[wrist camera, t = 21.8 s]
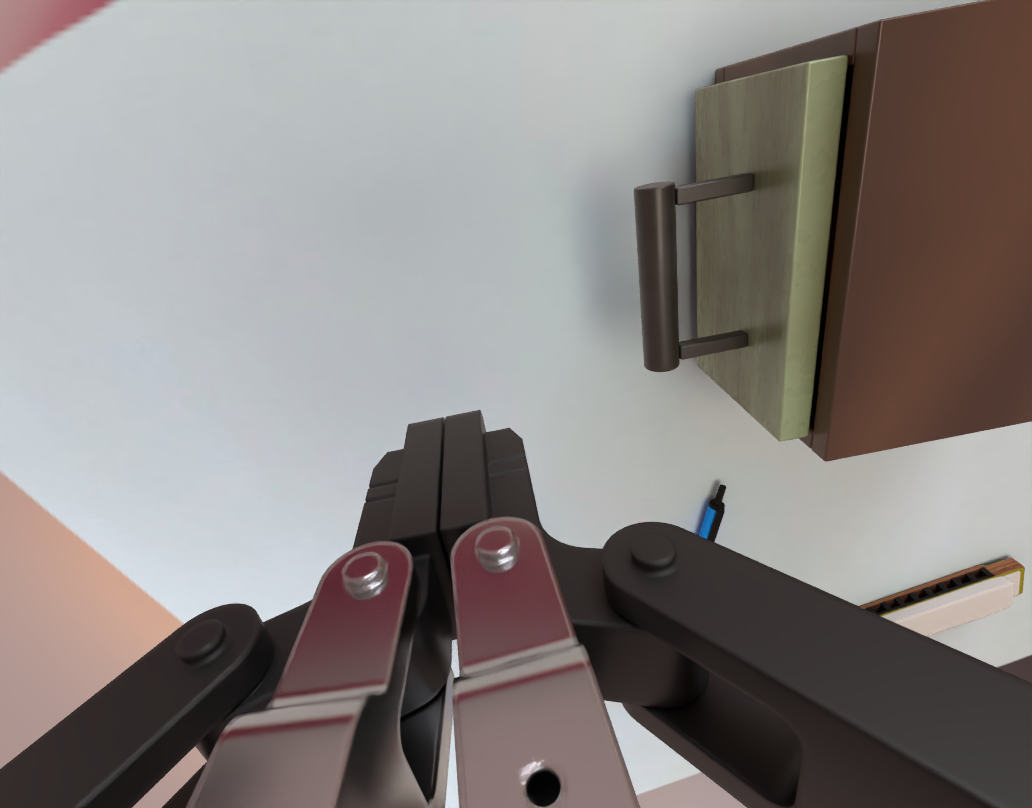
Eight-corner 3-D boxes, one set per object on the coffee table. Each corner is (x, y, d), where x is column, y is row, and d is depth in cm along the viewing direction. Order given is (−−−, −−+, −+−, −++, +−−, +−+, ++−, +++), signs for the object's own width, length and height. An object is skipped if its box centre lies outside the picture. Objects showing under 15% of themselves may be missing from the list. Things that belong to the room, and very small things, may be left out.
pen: (726, 482, 32) (735, 493, 31) (658, 687, 40) (663, 701, 39) (712, 481, 32) (721, 492, 31) (647, 687, 40) (652, 701, 39)
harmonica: (816, 647, 40) (833, 671, 38) (811, 622, 39) (828, 645, 37) (1007, 582, 39) (1033, 603, 37) (1008, 554, 37) (1036, 574, 36)
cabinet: (712, 364, 28) (824, 462, 20) (714, 69, 22) (880, 19, 13) (994, 310, 28) (1231, 382, 20) (1075, 1, 22) (1474, -93, 13)
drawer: (618, 381, 27) (673, 463, 20) (594, 108, 21) (660, 89, 14) (968, 313, 27) (1144, 371, 20) (1037, 24, 22) (1315, -35, 15)
